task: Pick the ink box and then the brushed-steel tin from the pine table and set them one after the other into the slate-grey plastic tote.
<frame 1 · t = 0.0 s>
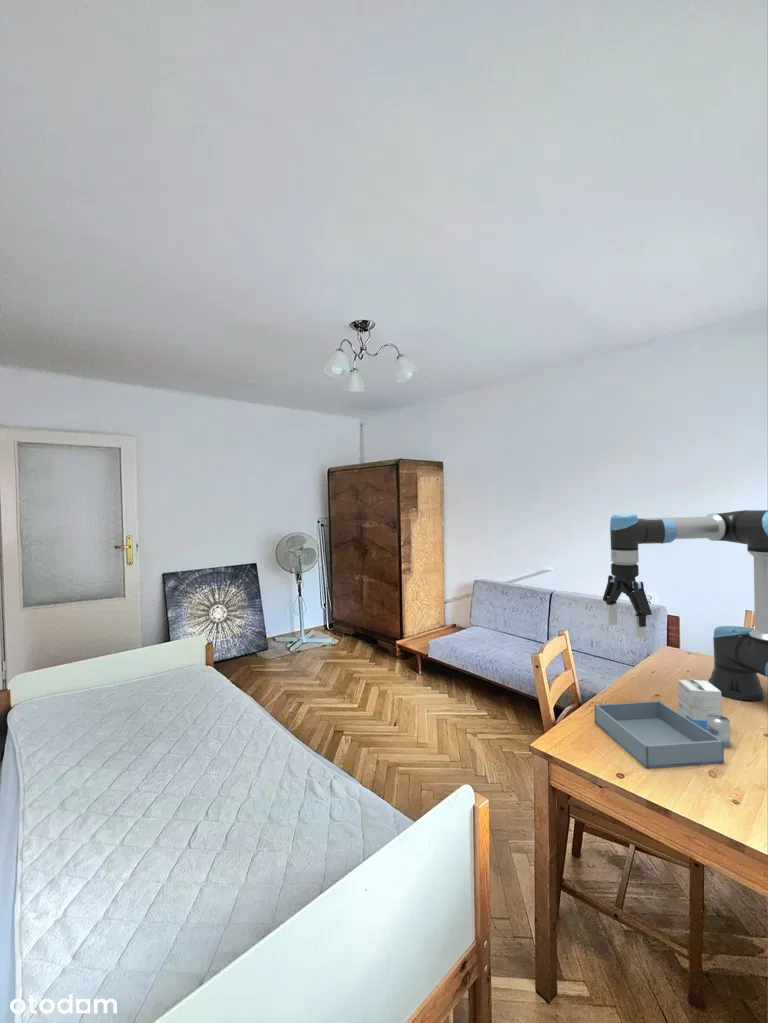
hand: (625, 630, 133), 28 cm above the table, fingers open, 13 cm apart
tin: (718, 743, 119), on the table
ink box: (700, 723, 130), on the table
tote: (653, 740, 121), on the table
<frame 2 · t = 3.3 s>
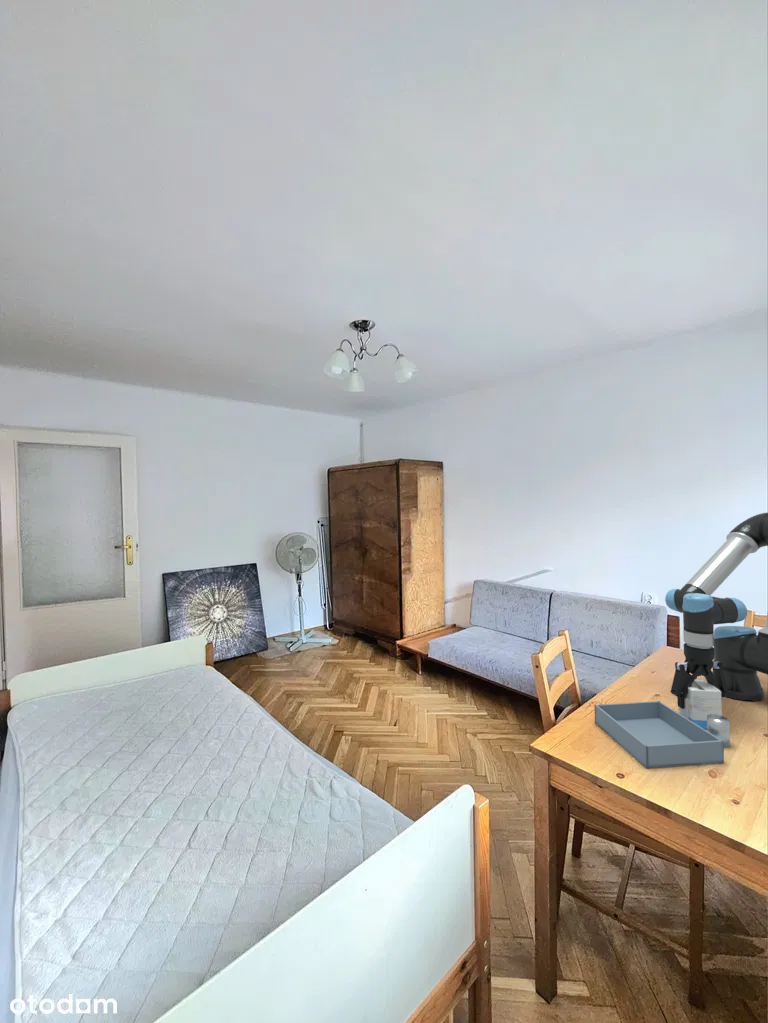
hand: (699, 717, 130), 2 cm above the table, fingers closed on ink box, 9 cm apart
ink box: (699, 723, 130), on the table, touching gripper
everything else where it was.
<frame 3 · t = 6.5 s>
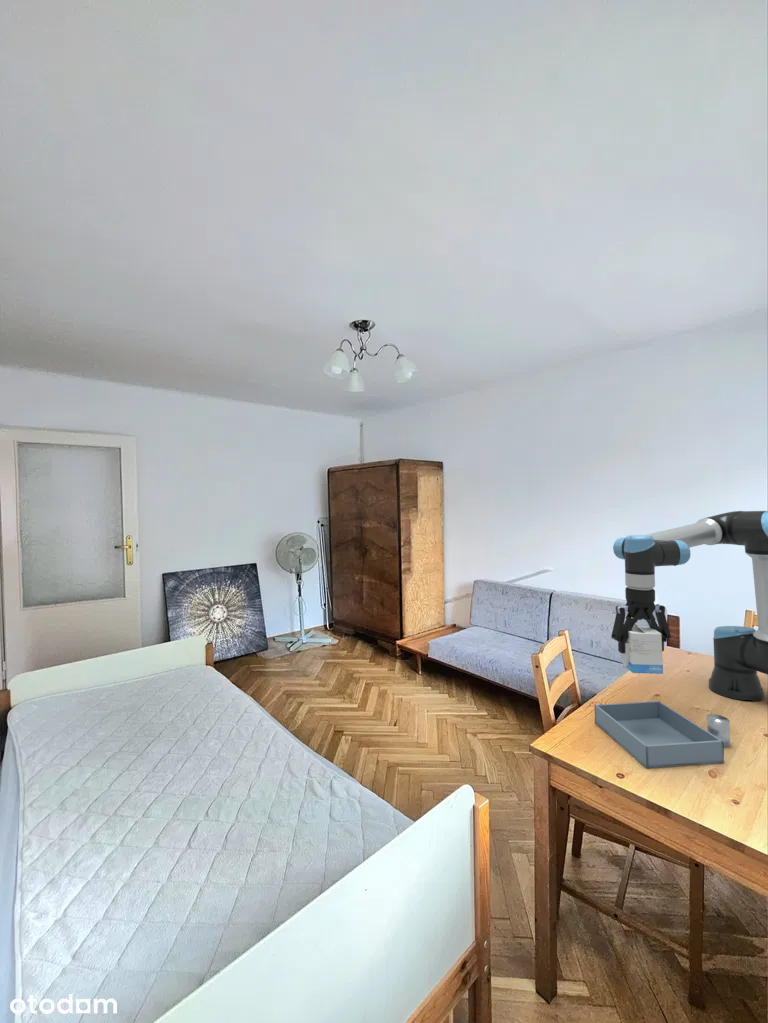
hand: (641, 662, 125), 21 cm above the table, fingers closed on ink box, 9 cm apart
ink box: (641, 669, 125), point 19 cm above the table, touching gripper
everything else where it was.
when the fingers open (4 cm above the table, at t = 10.0 s): ink box drops 1 cm, resting on tote.
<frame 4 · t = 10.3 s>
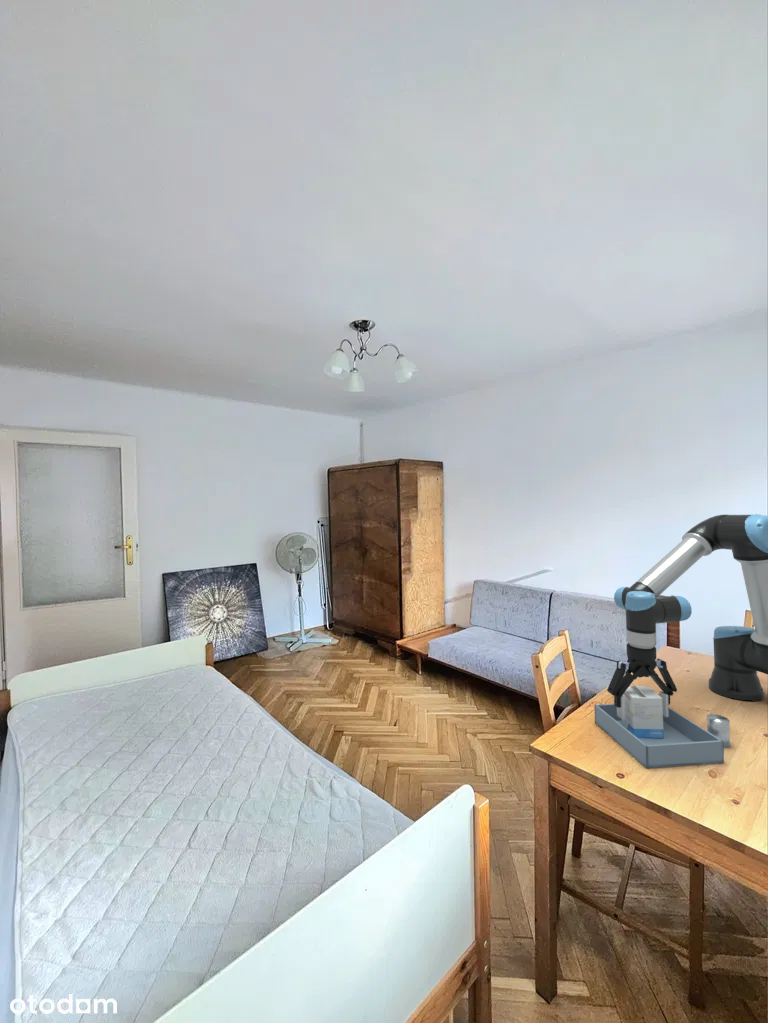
hand: (642, 716, 125), 5 cm above the table, fingers open, 13 cm apart
ink box: (641, 731, 125), resting on tote
everything else where it was.
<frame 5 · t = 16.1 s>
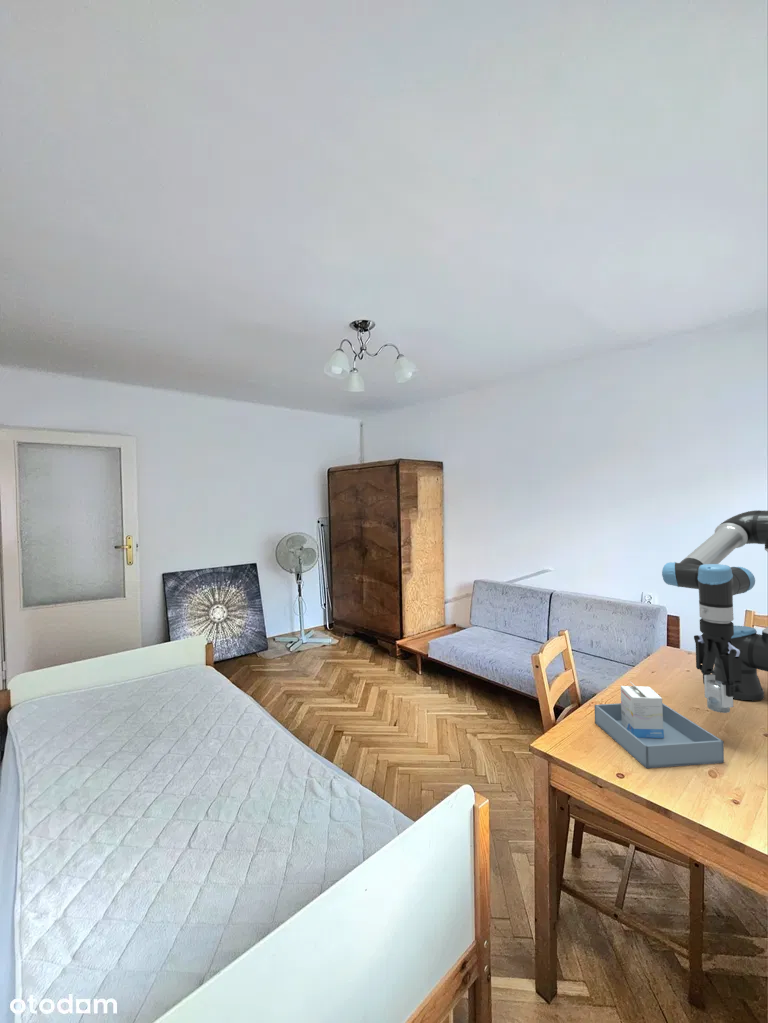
hand: (718, 701, 119), 12 cm above the table, fingers closed on tin, 5 cm apart
tin: (718, 708, 119), point 10 cm above the table, touching gripper
everything else where it was.
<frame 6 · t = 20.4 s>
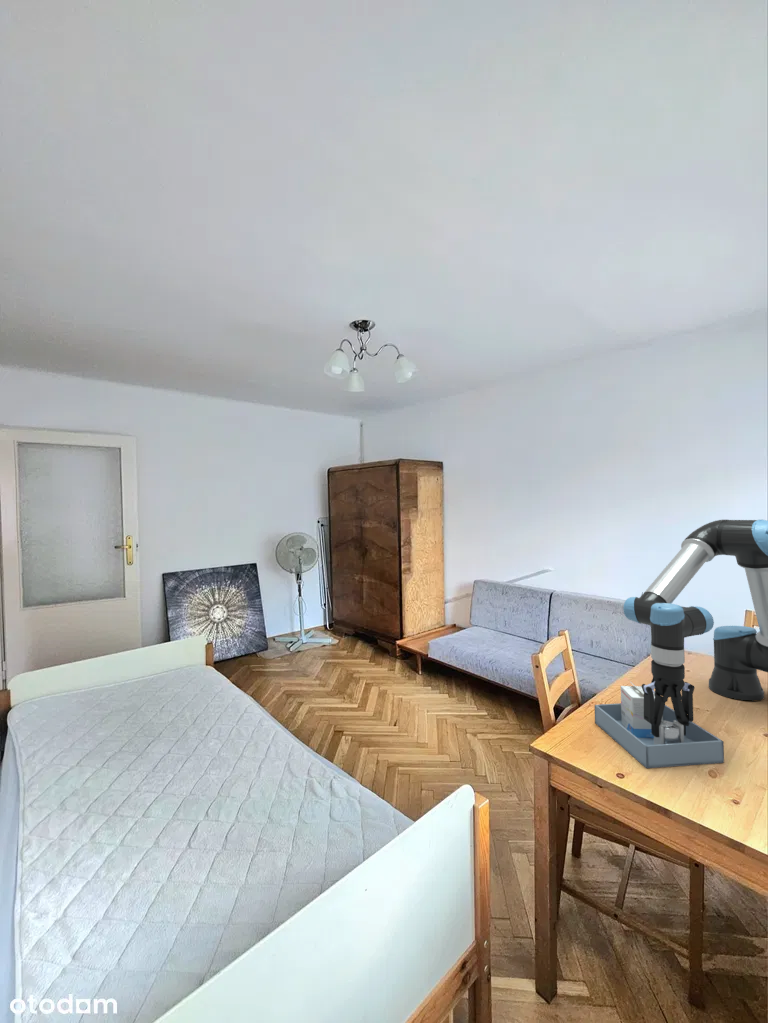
hand: (668, 747, 115), 2 cm above the table, fingers closed on tin, 5 cm apart
tin: (668, 750, 115), point 1 cm above the table, touching gripper, tote
everything else where it was.
when the fingers open (1 cm above the table, at t = 20.7 s): tin stays where it is, resting on tote.
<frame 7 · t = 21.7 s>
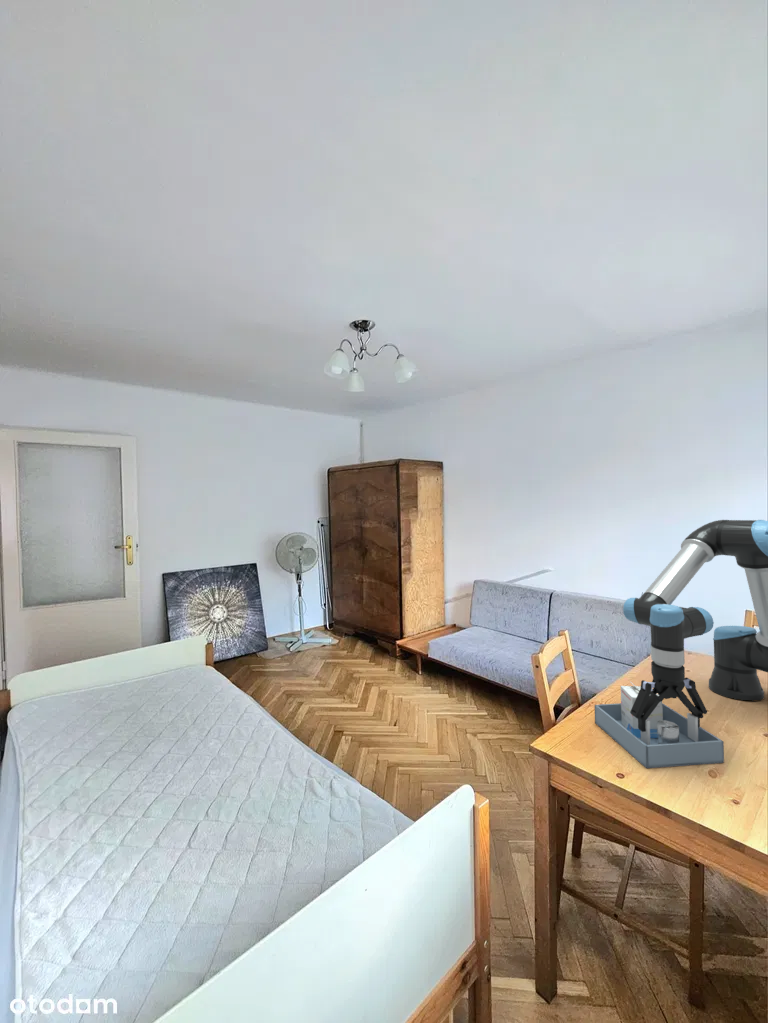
hand: (669, 740, 115), 3 cm above the table, fingers open, 13 cm apart
tin: (668, 750, 115), point 1 cm above the table, touching tote
everything else where it was.
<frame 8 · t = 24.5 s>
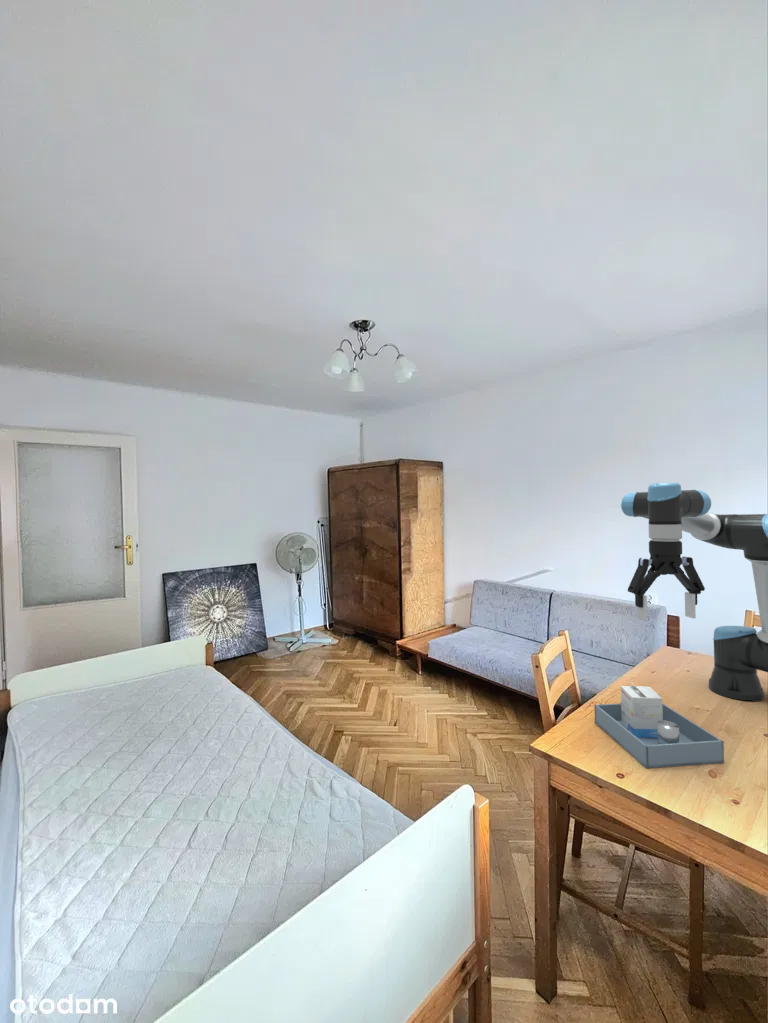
hand: (666, 618, 114), 37 cm above the table, fingers open, 13 cm apart
nothing on the table moved.
at the end: ink box inside the target area on the tote (4.5 cm from its centre), point 0.4 cm above the tote's base; tin inside the target area on the tote (5.8 cm from its centre), point 0.6 cm above the tote's base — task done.
